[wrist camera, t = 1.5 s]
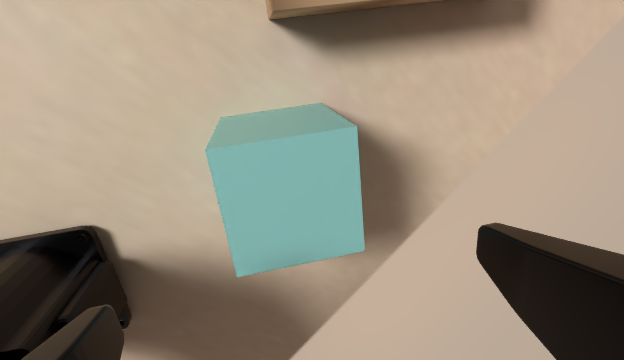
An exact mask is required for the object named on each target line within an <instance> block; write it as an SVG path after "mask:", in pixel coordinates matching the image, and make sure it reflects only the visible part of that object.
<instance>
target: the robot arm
mask: <svg viewBox="0 0 624 360" xmlns="http://www.w3.org/2000/svg"><path fill="white" fill-rule="evenodd" d="M80 234H84V235H86V236H87V238H88V239H84V238H82V237H81V236H80ZM476 254H477V258H478V260H479V262H480V264H481V265H482V267H483V268H484V269H485V271H486V272H487V273H488V275H489V276H490V278H491V279H492V281H493V282H494V283H495V285H496V286H497V287H498V289H499V290H500V292H501V293H502V294H503V296H504V297H505V299H506V300H507V301H508V303H509V304H510V305H511V307H512V308H513V309H514V311H515V312H516V313H517V314H518V316H519V317H520V318H521V319H522V321H523V322H524V323H525V324H526V325H527V326H528V328H529V329H530V330H531V331H532V332H533V333H534V334H535V336H536V337H537V338H538V339H539V340H540V341H541V343H543V345H544V346H545V347H546V348H547V349H548V350H549V352H550V353H551V354H552V355H553V356H554V358H555V359H556V360H624V255H622V254H618V253H615V252H611V251H607V250H603V249H599V248H595V247H591V246H587V245H583V244H579V243H575V242H571V241H567V240H563V239H559V238H555V237H551V236H547V235H543V234H540V233H535V232H532V231H528V230H523V229H519V228H516V227H512V226H508V225H504V224H500V223H492V224H486V225H482V226H481V227H480V228H479V230H478V240H477V250H476ZM126 301H127V298H126V295H125V293H124V290H123V288H122V286H121V283H120V281H119V278H118V276H117V274H116V271H115V269H114V267H113V264H112V263H111V262H109V261H108V259H107V257H106V255H105V252H104V250H103V247H102V245H101V243H100V240H99V238H98V236H97V233H96V232H95V230H94V229H93V228H91V227H89V226H78V227H72V228H67V229H61V230H55V231H50V232H44V233H38V234H33V235H27V236H21V237H16V238H10V239H4V240H0V360H120V359H121V354H122V349H123V345H124V333H123V330H122V329H125V328H126V327H128V325H129V323H130V321H131V318H132V317H131V313H130V311H129V309H128V306H127V304H126ZM118 319H122V320H123V321H120V320H118Z"/></svg>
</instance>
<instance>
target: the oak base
mask: <svg viewBox="0 0 624 360" xmlns="http://www.w3.org/2000/svg"><path fill="white" fill-rule="evenodd" d="M434 1H443V0H266V4H267V11H268V18H269V20H270V19H279V18H288V17H297V16H306V15H316V14H325V13H334V12H343V11H352V10H361V9H370V8H379V7H389V6H398V5H407V4H416V3H425V2H434Z"/></svg>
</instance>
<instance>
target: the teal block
mask: <svg viewBox="0 0 624 360" xmlns="http://www.w3.org/2000/svg"><path fill="white" fill-rule="evenodd" d="M205 151H206V155H207V159H208V163H209V167H210V171H211V175H212V179H213V183H214V187H215V191H216V195H217V199H218V203H219V207H220V211H221V215H222V219H223V223H224V227H225V231H226V235H227V239H228V243H229V247H230V251H231V255H232V259H233V263H234V267H235V271H236V275H237V277H242V276H247V275H252V274H257V273H261V272H266V271H271V270H276V269H281V268H286V267H290V266H295V265H300V264H305V263H310V262H314V261H319V260H324V259H329V258H334V257H339V256H343V255H348V254H353V253H358V252H363V251H365V246H364V230H363V214H362V197H361V181H360V165H359V149H358V133H357V126H356V125H354V124H353V123H351V122H350V121H348V120H347V119H345V118H343V117H342V116H340V115H339V114H337V113H336V112H334V111H333V110H331V109H330V108H328V107H326V106H325V105H323V104H322V103H317V104H310V105H303V106H296V107H289V108H283V109H276V110H269V111H262V112H255V113H248V114H241V115H234V116H227V117H221V118H220V120H219V122H218V125H217V127H216V129H215V131H214V133H213V135H212V137H211V139H210V141H209V143H208V146H207V148H206V150H205Z"/></svg>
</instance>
